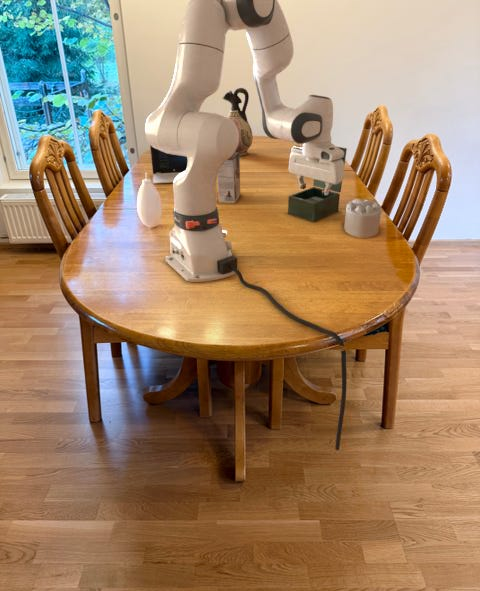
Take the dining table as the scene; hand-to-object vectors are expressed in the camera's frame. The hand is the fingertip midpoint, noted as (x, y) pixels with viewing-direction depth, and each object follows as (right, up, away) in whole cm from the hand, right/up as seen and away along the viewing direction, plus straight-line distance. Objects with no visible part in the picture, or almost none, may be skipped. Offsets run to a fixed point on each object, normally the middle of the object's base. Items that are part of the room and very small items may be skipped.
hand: (313, 191), depth 163 cm
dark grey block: (0, -6, +3) cm, 7 cm away
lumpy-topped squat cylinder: (+13, -14, -9) cm, 22 cm away
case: (0, -6, +4) cm, 8 cm away
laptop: (-52, +13, +40) cm, 66 cm away
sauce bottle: (-53, -13, -5) cm, 55 cm away
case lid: (+5, +8, +1) cm, 10 cm away
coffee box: (-28, +1, +18) cm, 33 cm away
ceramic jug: (-25, +33, +74) cm, 85 cm away
